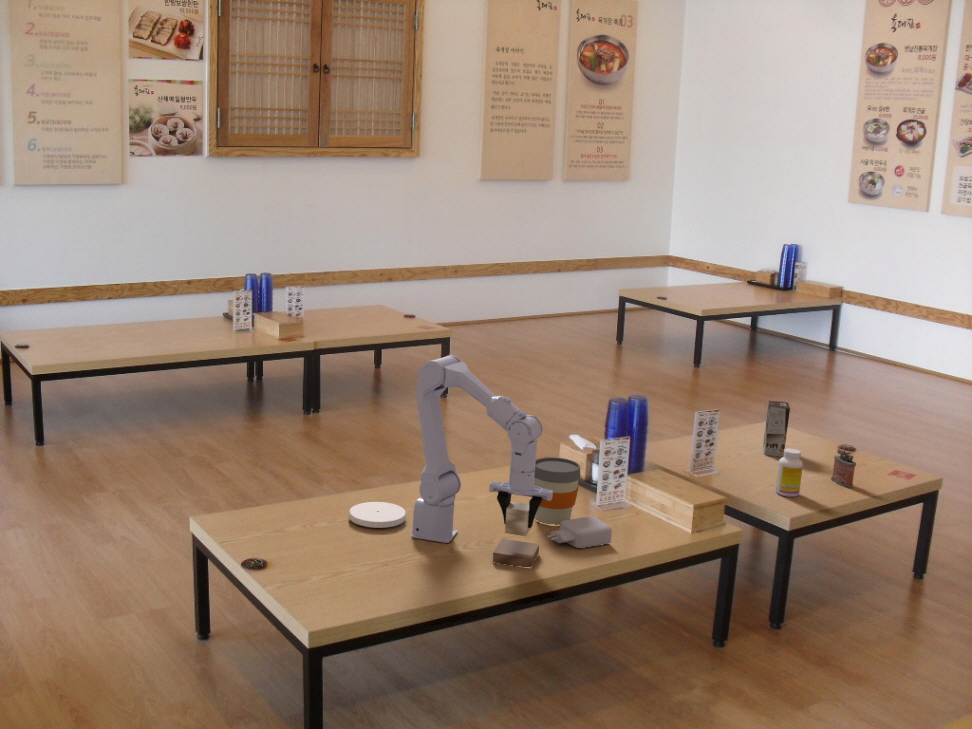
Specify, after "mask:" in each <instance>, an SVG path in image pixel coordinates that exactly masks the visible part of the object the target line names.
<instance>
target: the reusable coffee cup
mask: <svg viewBox="0 0 972 729" xmlns="http://www.w3.org/2000/svg"><path fill="white" fill-rule="evenodd" d="M580 479H581V465H580V464H579V463H578V462H576V461H574V460H572V459H568V458H564V457H556V456H555V457H552V456H550V457H549V456H548V457H540V458H536V463H535V476H534V486H537V487H540V488H544V489H548V490H553V495H552V499H551V501H548V500H546V499H543V500H542V502H541V504H540V506H539V508H538V510H537V512H536V515H535V518H534V520H535V519H536V520H538V521H539V522H542V523H546V524H555V525H558V524H559V525H560V523H561V521H564V520H571V517H572V511H573V507H574V506H575V505H576V503H577V502H576V501H577V497H578V492H579V486H578V485H579V480H580Z"/></svg>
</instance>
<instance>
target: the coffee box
mask: <svg viewBox="0 0 972 729" xmlns="http://www.w3.org/2000/svg"><path fill="white" fill-rule="evenodd" d="M790 412H791V407H790V404H789V402H787V401H778V400H768V402H767V411H766V418H765V427H764V434H763V442H762V449H763V450H762V451H763V454H764V456H772V457H780V458H782V457H784V449H786V440H787V434H788V426H789V419H790Z"/></svg>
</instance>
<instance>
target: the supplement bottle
mask: <svg viewBox="0 0 972 729" xmlns="http://www.w3.org/2000/svg"><path fill="white" fill-rule="evenodd" d="M801 452H802V451H801V450H799V449H795V448H785V449H784V457H780V459H779V461H778V467H777V475H776V483H775V492H776V494H778V495H780V496H782V497H786V498H787V497H789V498H794V497H798V496H799V495H800V490H801V482H802V473H803V468H804V464H803V461H802V460H801V459H800V458H801V455H802V454H801Z"/></svg>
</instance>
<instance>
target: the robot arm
mask: <svg viewBox="0 0 972 729" xmlns="http://www.w3.org/2000/svg"><path fill="white" fill-rule="evenodd" d="M417 374H418V375H417V376H418V380H417V384H416V387H415V388H416V389H415V398H416V404H417V405H416V406H417V412H418V418H419V425H420V431H421V439H422V445H423V453H424V459H425V465H424V467H423V469H422V470H421V473H420V485H419V490H418V491H419V495H420V497H418V498H417V499H416V500H415V503H414V508H413V515H412V517H413V518H412V531H411V532H412V533H411V536H410V537H411V538H413V539H414V538H415V539H418V540H420V539H421V540H426V541H432V542H438V543H439V542H440V543H446V544H448V543H450V542H451V541H452V540H453V538H454V537H455V536H456V535H457V533H458V529H454V514H455V512H454V511H455V501H456V500H455V499H456V495H457V494H458V493H459V492H460V490H461V488H462V487H461V486H462V481H461V478H460V476H459V474H458V473H457V470H456V465H455V464H454V463H452V461H451V460H449V455H448V448H447V440H446V432H445V426H444V420H443V412H442V405H441V398H440V397H441V395H442V394H443V392H445V390H446V389H447V388H459V389H462V390H463V391H464V392H465V393H466V394H468V395H469V396H470V397H472V398H473V399H475V401H477V402H479V403H480V404H482V405H483V406H484V407H485V410H486V415H487V416H489V417H490V418H491V419H492V420H493V421H494V422H495V423H496V424H498V425H499V426H500V427H501V428H502V429H503V430H504V431H505V432H507V437H508V439H509V441H510V444H511V447H510V449H511V451H510V463H509V465H510V466H509V477H508V482H506V481H504V482H503V481H501V482H500V481H490V483H489V487H488V491H489V492H490V493H494V492H495V493H497V496H496V500H497V502H498V505H499V506H500V510H501V513H502V518H503V523H504V525H505V524H506V510H507V507H508V506H509V504H510V503H511V502H512V501H511V500H512V495H514V496H518V497H519V496H520V497H521V496H522V497H530V499H529V501H528V504H529V520H528V528H532V527H533V525H534V520H535V515H536V512H537V510H538V508H539V506H540V504H541V502H542V500H543V499H546V500H548V501H551V499H552V495H553V490H548V489H544V488H540V487H537V486H534V476H535V463H536V459H537V451H538V450H537V448H538V447H537V446H538V440H537V439H539V438H540V437H541V436H542V433H543V425H542V423H541V421H540V420H539V419H538V417H537V416H536V415H532V414H527V413H526V412H525V411H524V410H521V409H519V407H517V406H516V405H515V404H514V403H512V399H511V398H510V397H509V396H504V395H495V393H493V392H492V391H491V390H490V389H489V388H488V387H487V386H486V385H485V384H484V383H483V382H482V381H481V380H480V379H479V378H478V377H477V376H476V375H475V374H474V373H472V371H470V369H469V367H468V365H467V363H466V362H463V361H462V360H461V359H460V358H459V357H458V356H456V355H453V354H448V355H446V356H444V357H440V358H437V359H436V358H435V359H434V360H433V359H431V360H428V361H426V362H424V363H423V365H422V366H421V367H420V368H419V369H417Z"/></svg>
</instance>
